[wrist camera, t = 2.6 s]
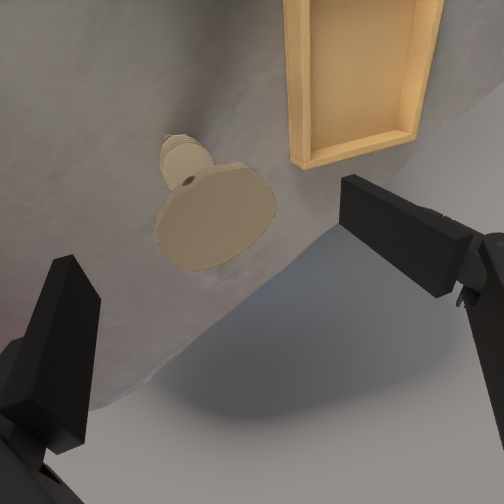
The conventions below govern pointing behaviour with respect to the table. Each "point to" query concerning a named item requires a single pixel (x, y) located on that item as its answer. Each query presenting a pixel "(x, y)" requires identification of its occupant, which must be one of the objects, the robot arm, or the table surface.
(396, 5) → the tray
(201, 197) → the handle
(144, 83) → the table surface
